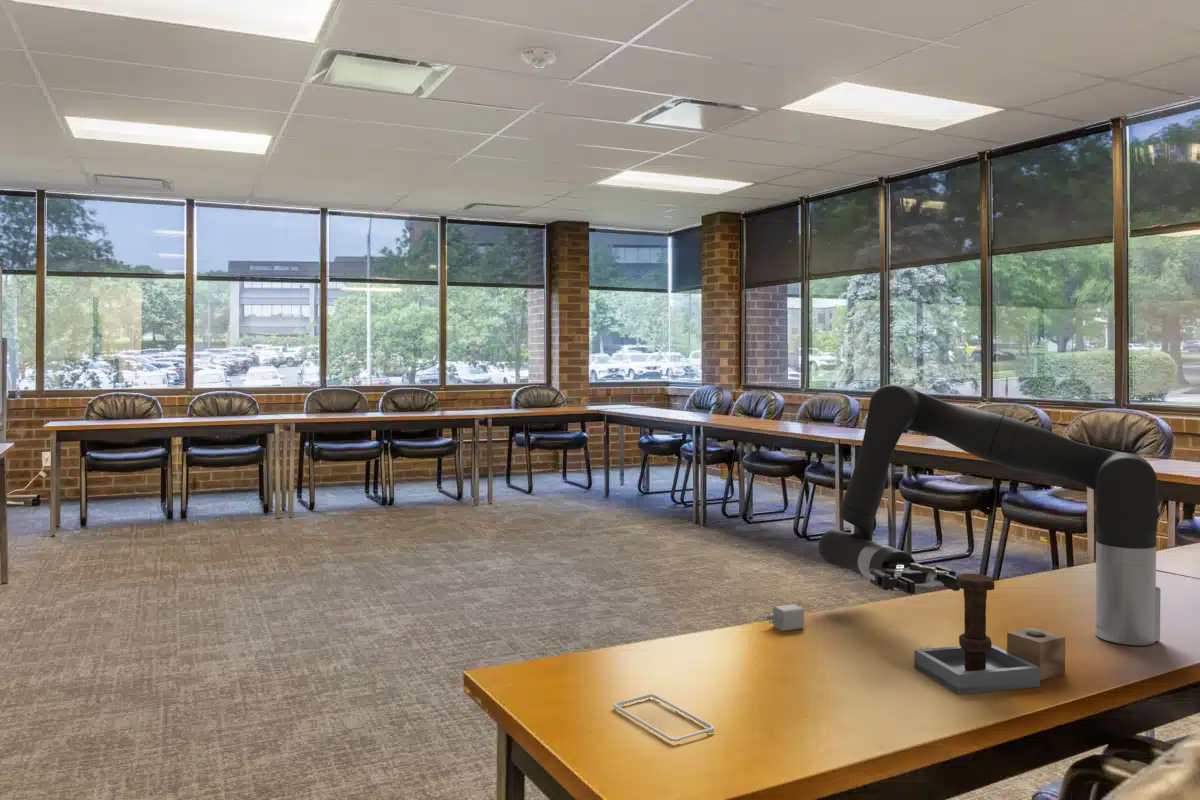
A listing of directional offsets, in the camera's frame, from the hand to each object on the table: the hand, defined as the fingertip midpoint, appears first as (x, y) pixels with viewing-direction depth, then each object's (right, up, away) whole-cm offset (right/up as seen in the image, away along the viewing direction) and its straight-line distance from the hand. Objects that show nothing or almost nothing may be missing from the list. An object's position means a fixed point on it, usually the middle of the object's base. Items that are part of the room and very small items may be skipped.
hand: (935, 586), depth 148 cm
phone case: (-49, -14, -26) cm, 57 cm away
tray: (+2, -12, -11) cm, 16 cm away
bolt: (+2, -11, -10) cm, 16 cm away
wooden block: (+13, -12, -8) cm, 19 cm away
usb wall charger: (-23, -12, +16) cm, 30 cm away
